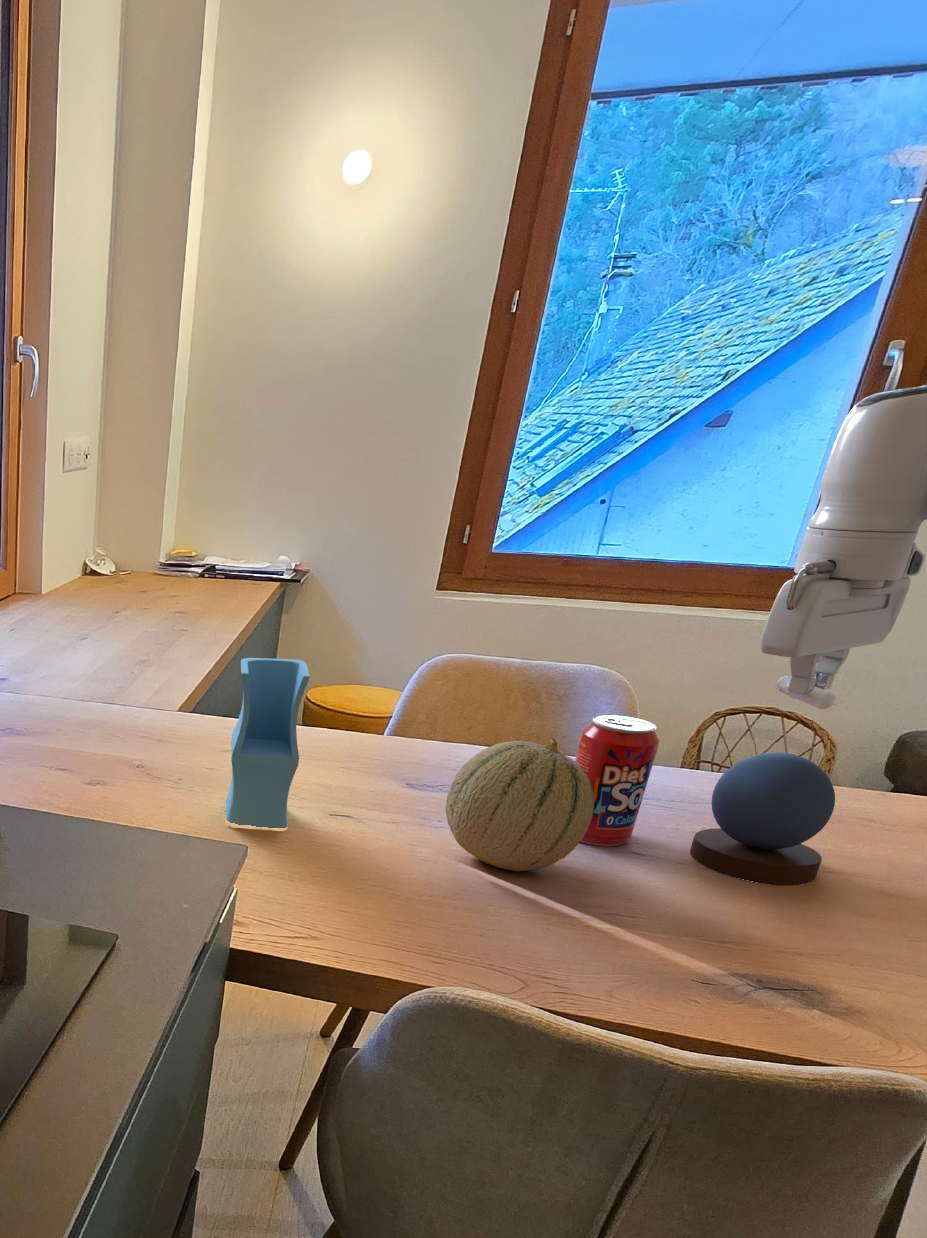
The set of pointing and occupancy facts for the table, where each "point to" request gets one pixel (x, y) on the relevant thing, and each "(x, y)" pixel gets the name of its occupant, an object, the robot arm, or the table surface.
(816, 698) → the small white plastic part
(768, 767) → the blue egg sculpture
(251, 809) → the vase
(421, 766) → the table surface
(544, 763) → the cantaloupe
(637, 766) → the soda can
